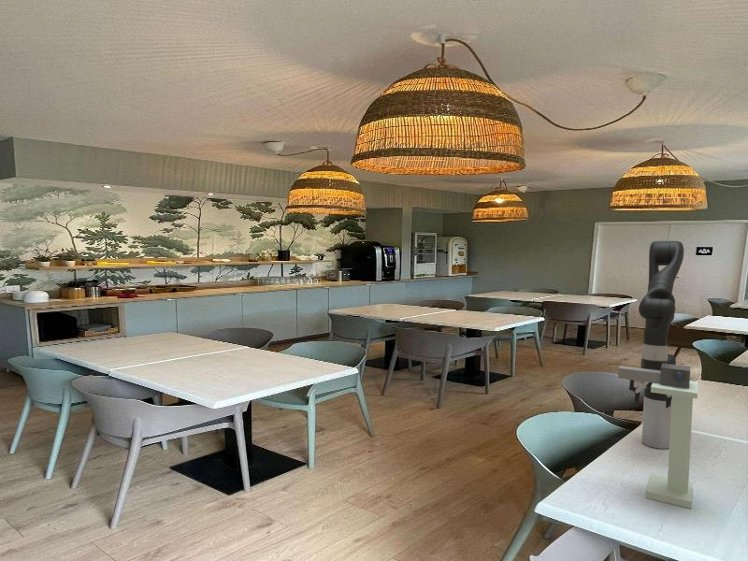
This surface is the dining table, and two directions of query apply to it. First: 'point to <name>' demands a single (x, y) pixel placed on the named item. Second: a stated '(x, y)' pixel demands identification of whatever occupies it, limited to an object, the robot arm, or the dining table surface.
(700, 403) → the dining table surface
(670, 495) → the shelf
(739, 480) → the dining table surface
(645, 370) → the grey block with bar
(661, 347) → the robot arm
